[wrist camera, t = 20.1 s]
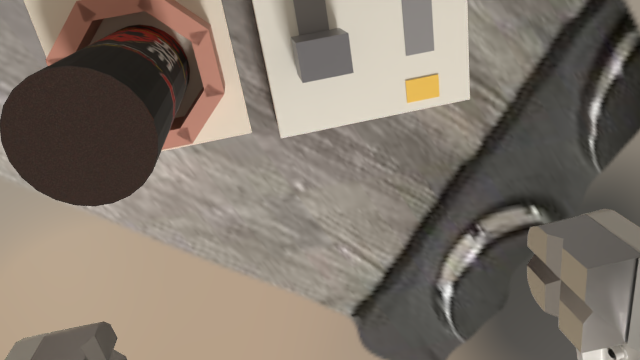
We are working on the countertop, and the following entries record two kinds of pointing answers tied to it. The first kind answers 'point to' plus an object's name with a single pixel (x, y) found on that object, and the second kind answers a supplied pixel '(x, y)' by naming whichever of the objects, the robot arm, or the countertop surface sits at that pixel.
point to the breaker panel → (365, 59)
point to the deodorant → (97, 116)
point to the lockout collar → (186, 28)
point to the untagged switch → (322, 54)
